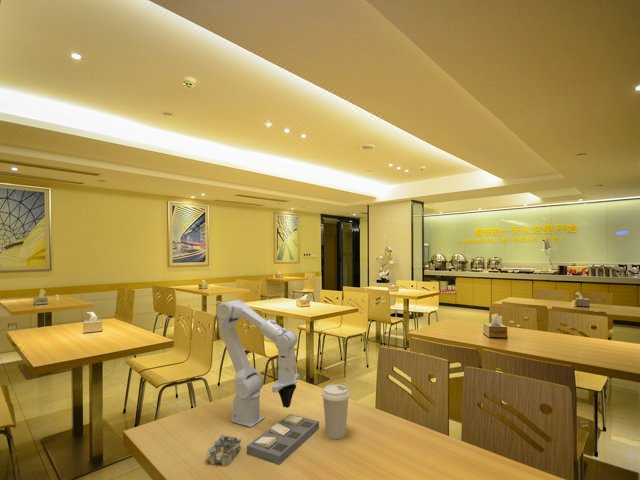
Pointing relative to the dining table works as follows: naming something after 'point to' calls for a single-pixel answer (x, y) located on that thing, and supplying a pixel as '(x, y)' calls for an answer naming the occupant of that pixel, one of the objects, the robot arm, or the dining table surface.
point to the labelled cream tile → (293, 420)
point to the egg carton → (224, 450)
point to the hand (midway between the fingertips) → (286, 406)
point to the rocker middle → (279, 430)
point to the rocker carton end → (265, 442)
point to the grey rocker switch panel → (284, 441)
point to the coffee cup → (335, 410)
